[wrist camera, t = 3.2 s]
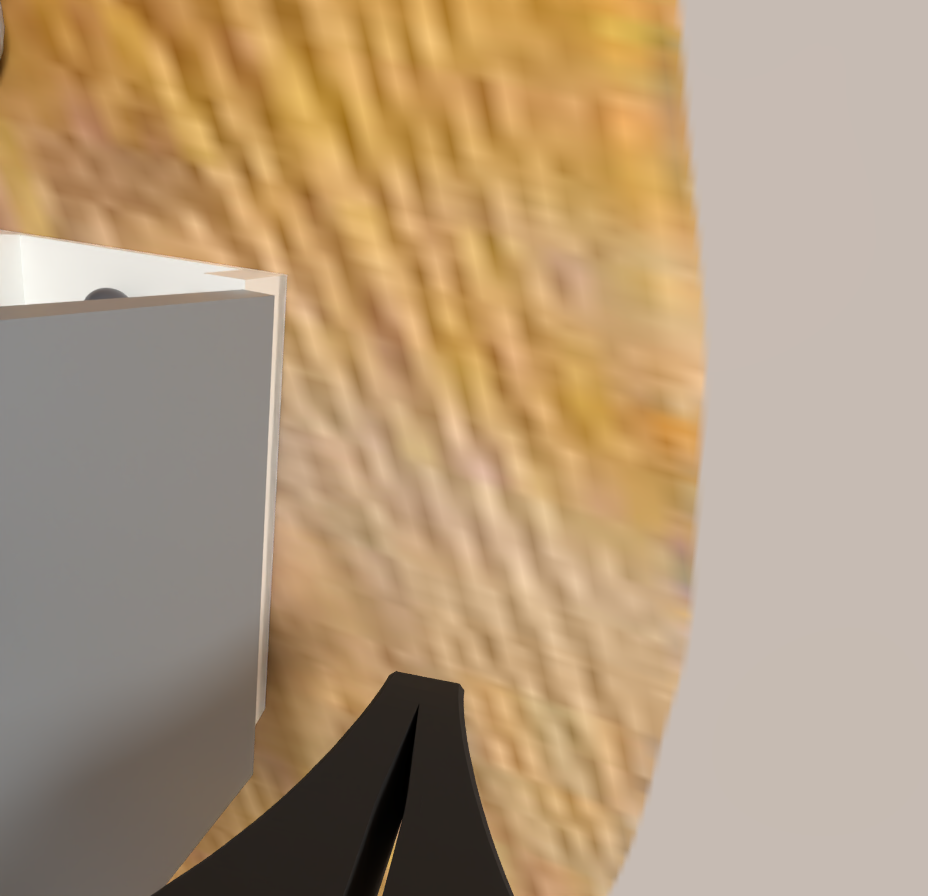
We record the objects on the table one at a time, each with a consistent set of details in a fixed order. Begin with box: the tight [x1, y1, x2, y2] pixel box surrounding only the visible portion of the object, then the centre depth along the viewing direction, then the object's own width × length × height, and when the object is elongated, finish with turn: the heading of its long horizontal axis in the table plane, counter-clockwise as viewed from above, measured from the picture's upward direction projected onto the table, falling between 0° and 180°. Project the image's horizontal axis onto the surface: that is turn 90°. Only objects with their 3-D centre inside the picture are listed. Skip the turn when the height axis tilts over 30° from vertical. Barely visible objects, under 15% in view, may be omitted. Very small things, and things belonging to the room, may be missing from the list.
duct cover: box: [0, 289, 275, 896], centre depth 13 cm, size 14×8×1 cm
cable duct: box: [0, 230, 287, 725], centre depth 18 cm, size 14×8×2 cm, turn 172°
